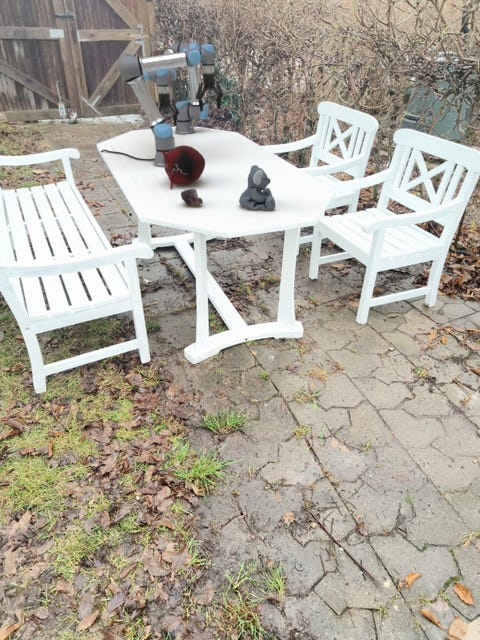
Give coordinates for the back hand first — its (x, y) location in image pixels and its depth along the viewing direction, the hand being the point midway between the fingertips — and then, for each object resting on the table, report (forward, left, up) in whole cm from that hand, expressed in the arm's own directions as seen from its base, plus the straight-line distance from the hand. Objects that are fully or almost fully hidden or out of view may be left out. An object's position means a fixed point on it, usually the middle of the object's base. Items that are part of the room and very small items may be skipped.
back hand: (166, 126), depth 314 cm
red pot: (+72, +26, -16) cm, 78 cm away
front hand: (+12, +33, +13) cm, 37 cm away
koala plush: (+107, +70, -16) cm, 129 cm away
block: (0, 0, -16) cm, 16 cm away
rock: (+108, +36, -16) cm, 116 cm away
